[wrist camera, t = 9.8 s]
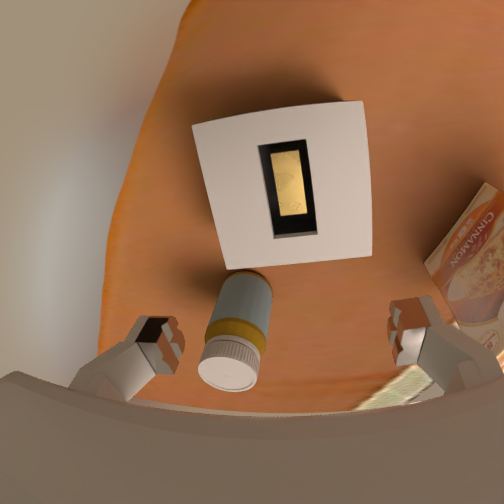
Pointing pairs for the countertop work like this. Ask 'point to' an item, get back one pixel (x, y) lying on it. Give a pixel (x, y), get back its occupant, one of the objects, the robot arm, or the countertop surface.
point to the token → (288, 178)
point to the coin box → (264, 187)
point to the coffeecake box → (475, 270)
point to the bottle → (237, 333)
